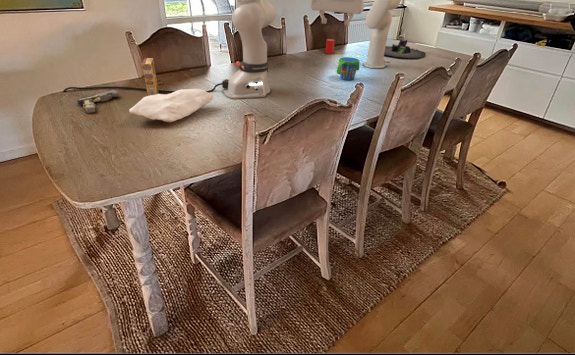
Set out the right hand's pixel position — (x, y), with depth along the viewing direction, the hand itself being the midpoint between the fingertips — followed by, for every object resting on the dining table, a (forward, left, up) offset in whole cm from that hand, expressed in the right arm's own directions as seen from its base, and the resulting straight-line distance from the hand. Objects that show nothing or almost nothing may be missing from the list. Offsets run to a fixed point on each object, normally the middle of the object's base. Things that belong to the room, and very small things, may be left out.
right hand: (330, 9), depth 227 cm
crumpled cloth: (+95, +89, -27) cm, 133 cm away
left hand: (+29, +93, +8) cm, 98 cm away
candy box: (+104, +65, -27) cm, 126 cm away
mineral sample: (-53, -1, -27) cm, 60 cm away
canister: (-3, -3, -27) cm, 28 cm away
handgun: (+125, +74, -27) cm, 148 cm away
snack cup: (+5, +52, -27) cm, 59 cm away
